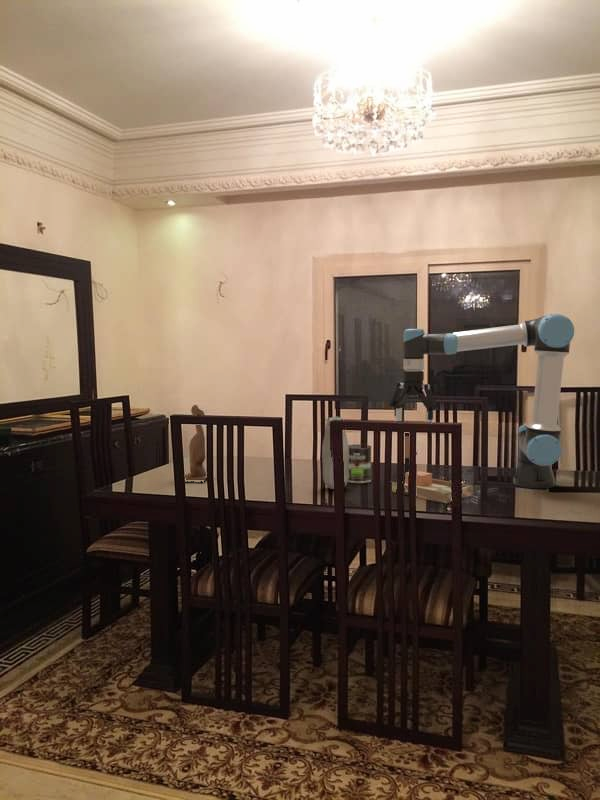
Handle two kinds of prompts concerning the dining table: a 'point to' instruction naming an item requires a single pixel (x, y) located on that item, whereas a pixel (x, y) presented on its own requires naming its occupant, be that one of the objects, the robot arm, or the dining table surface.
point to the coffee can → (359, 464)
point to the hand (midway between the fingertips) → (413, 427)
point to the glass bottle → (328, 459)
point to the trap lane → (437, 491)
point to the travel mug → (407, 452)
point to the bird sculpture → (197, 451)
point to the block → (421, 478)
